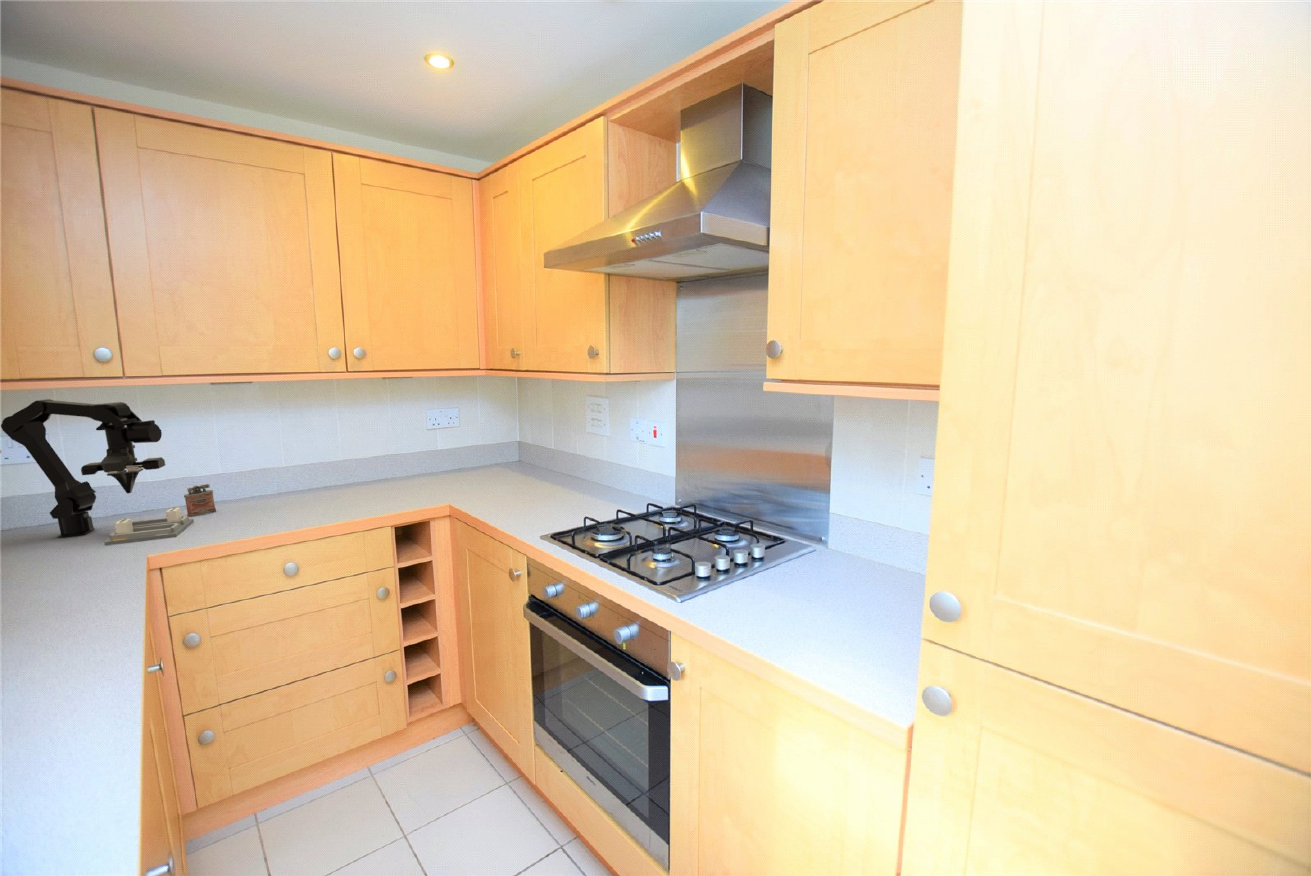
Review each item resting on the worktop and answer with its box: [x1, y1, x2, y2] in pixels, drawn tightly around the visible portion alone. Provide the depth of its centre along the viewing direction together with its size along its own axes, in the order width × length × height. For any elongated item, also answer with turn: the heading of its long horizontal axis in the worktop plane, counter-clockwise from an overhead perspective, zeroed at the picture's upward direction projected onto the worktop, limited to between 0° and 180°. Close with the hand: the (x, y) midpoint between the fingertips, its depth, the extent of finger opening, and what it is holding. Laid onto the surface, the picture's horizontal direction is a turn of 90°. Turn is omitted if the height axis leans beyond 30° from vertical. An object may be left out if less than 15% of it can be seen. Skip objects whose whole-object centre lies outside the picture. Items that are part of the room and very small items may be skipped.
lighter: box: [183, 483, 217, 518], centre depth 200 cm, size 8×3×10 cm, turn 143°
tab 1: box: [114, 518, 134, 534], centre depth 176 cm, size 2×4×5 cm, turn 22°
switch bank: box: [103, 515, 195, 546], centre depth 182 cm, size 17×16×2 cm
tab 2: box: [165, 507, 183, 522], centre depth 187 cm, size 2×4×5 cm, turn 22°
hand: (129, 493), depth 183 cm, fingers closed
